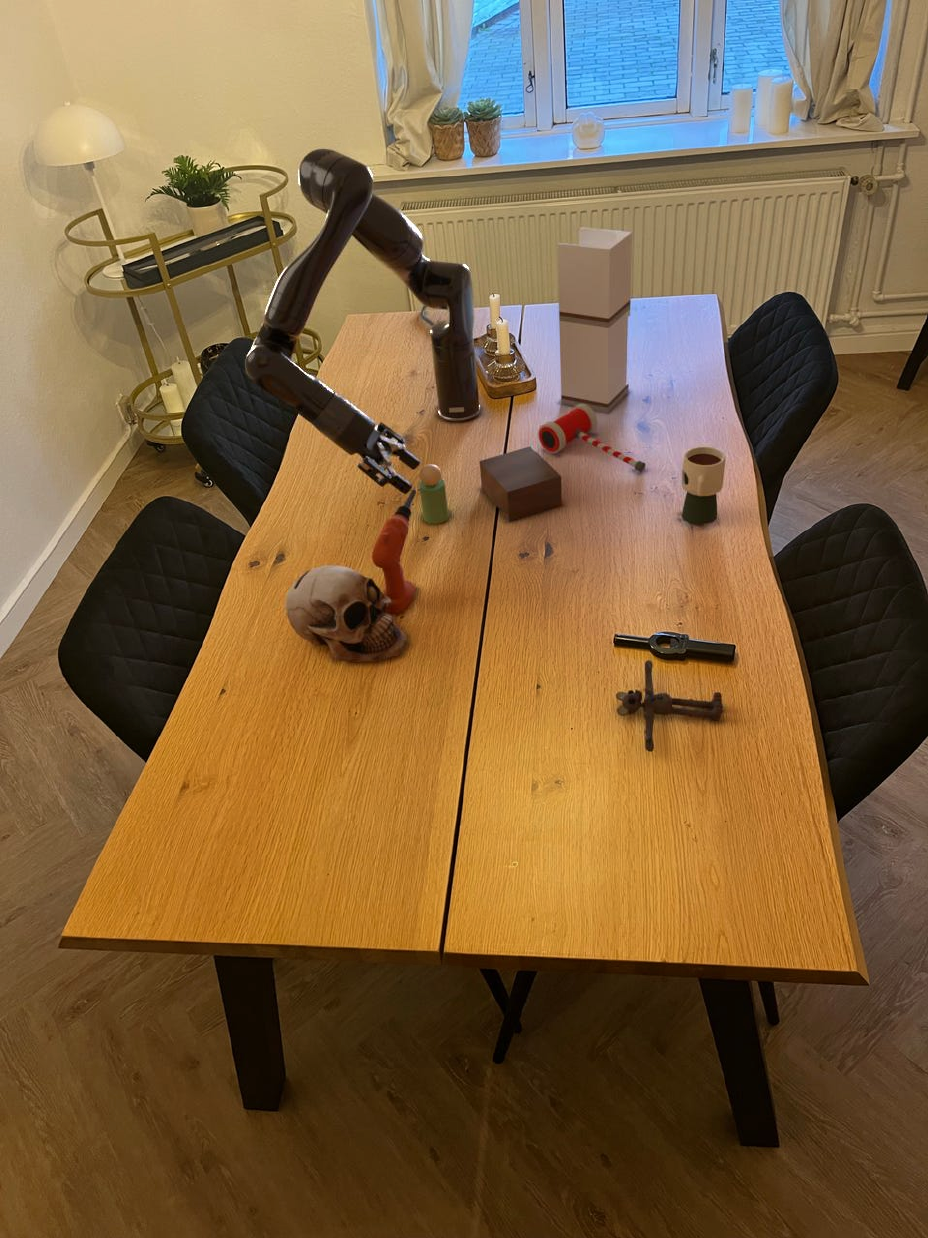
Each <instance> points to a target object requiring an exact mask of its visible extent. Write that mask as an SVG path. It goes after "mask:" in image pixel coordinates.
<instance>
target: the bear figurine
mask: <svg viewBox="0 0 928 1238" xmlns="http://www.w3.org/2000/svg"><path fill="white" fill-rule="evenodd" d="M653 666H654V664H653V661H652V660H651V659H647V660H645V661H644V699H643V693H642V691H641V690H639V689H635V691H634V690H633V689H629V690H628V691H627V692H625V691H618V692H616V694H615V697H616V699H617V700H618V701H621V705H620V706H619V707H617V709H616V713H617V715H619V716H622V717H624V716H625V717H626V716H628V715H633V714H635V713H637V712H638V711H639V710H640V709H641V708H642V710H643V712H644V715H643V718H644V721H645V724H644V725H645V729H644V740H645V741H644V748H645V751H648V752H653V751H654V749H655V745H654V738H653V737H654V720H655V715H661V716H668V715H675V716H686V717H688V718H701V719H702V718H703V719H711V720H715V721H719V720H720V719H721V717H722V714H723V712H724V710H723V707H724V706H723V699H722V693H721V692H719V691H716V692H714V693H713V697H712V699H711V700H710V701H707V700H698V699H693V698H689V699H687V698H686V699H685V698H679V697H678V698H677V697H672V696H671V695H670V694H668V693H667V692H658V693H654V683H653V673H652V672H653ZM676 706H679V707H676ZM684 707H688V708H684ZM702 709H703V710H702ZM704 709H705V710H704Z"/></svg>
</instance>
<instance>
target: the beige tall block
mask: <svg viewBox="0 0 928 1238" xmlns="http://www.w3.org/2000/svg"><path fill="white" fill-rule="evenodd" d="M578 231H579V244H578V243H567V242H560V241H559V242H558V243H556V244H557V246H556V248H557V249H556V250H557V283H558V285H557V286H558V289H557V290H558V320H559V321H558V324H559V325H558V326H559V327H558V328H559V358H560V359H559V360H560V361H559V363H560V365H559V366H560V398H561V399H560V400H561V401H560V403H561V404H562V405H568V406H573V407H575V406H577V405H578V404H586V405H588V406H589V407H590V408H591V409H592V410H593V411H597V412H601V413H602V412H603V413H607V414H608V413H609V412H610V411H611V410H612V409H613V408H614V407H615V406H616V405H617V404H618V403H619V402H620V401H621V400H622V399H623V398H625V396H626V395H627V394H628V393H629V383H628V382H627V379H628V378H627V376H628V375H627V373H628V371H627V370H628V334H629V333H628V331H629V317H630V316H631V303H632V302H631V300H632V297H631V295H632V292H631V291H632V264H633V263H632V259H633V231H627V230H626V231H625V230H618V229H617V230H615V229H605V228H597V227H596V228H595V227H584V226H581V227H579V229H578Z"/></svg>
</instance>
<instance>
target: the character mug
mask: <svg viewBox="0 0 928 1238" xmlns="http://www.w3.org/2000/svg"><path fill="white" fill-rule="evenodd" d="M682 458H683V459H682V469H681V470H682V471H681V487H682V488H683V490H684V491H686V494H685V498H684V502H683V507H682V513H681V518H682V519H683V521H684V522H686V523H688V524H689V525H707V524H712V523H714V522H715V521H716V520H717V519H718V498H717V494H719V493H720V492H721V491H722V490H723V486H724V479H725V470H726V469H725V468H726V460H727V459H726V458H727V457H726V454H725V452H724V451H722V450H721V449H719V448H717V447H715V446H708V445H701V446H700V445H699V446H694V447H691V448H689V449H686V451H685V452H684V453H683V457H682Z"/></svg>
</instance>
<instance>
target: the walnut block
mask: <svg viewBox="0 0 928 1238" xmlns="http://www.w3.org/2000/svg"><path fill="white" fill-rule="evenodd" d="M479 471H480V482H481V491H483V492H484V494H485V495H486V496H487V497H488V498H489V500H490V501H491V502H492V503H493V504H494V505H495V506H496V508H497V509H498V510H499V511H500V512H501V513H502V515H503V516H504V517H505V518H506V519H507V521H508V522H513V521H516V520H519V519H522V518H526V517H529V516H532V515H535V514H538V513H542V512H545V511H548V510H551V509H554V508H558V507H561V506H562V505H563V501H562V500H563V499H562V498H563V496H562V475H561V474H560V473H559V472H558V471H557V470H556V469H554V467H553V466H552V465H550V463H548V461H547V460H545V458H544V457H542V455H540V453H539V452H537V450H536V449H534V448H533V446H531V445H530V446H526V447H522V448H519V449H516V450H513V451H509V452H505V453H502V454H497V455H495V456H492V457H489V458H486V459H481V460H479Z"/></svg>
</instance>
